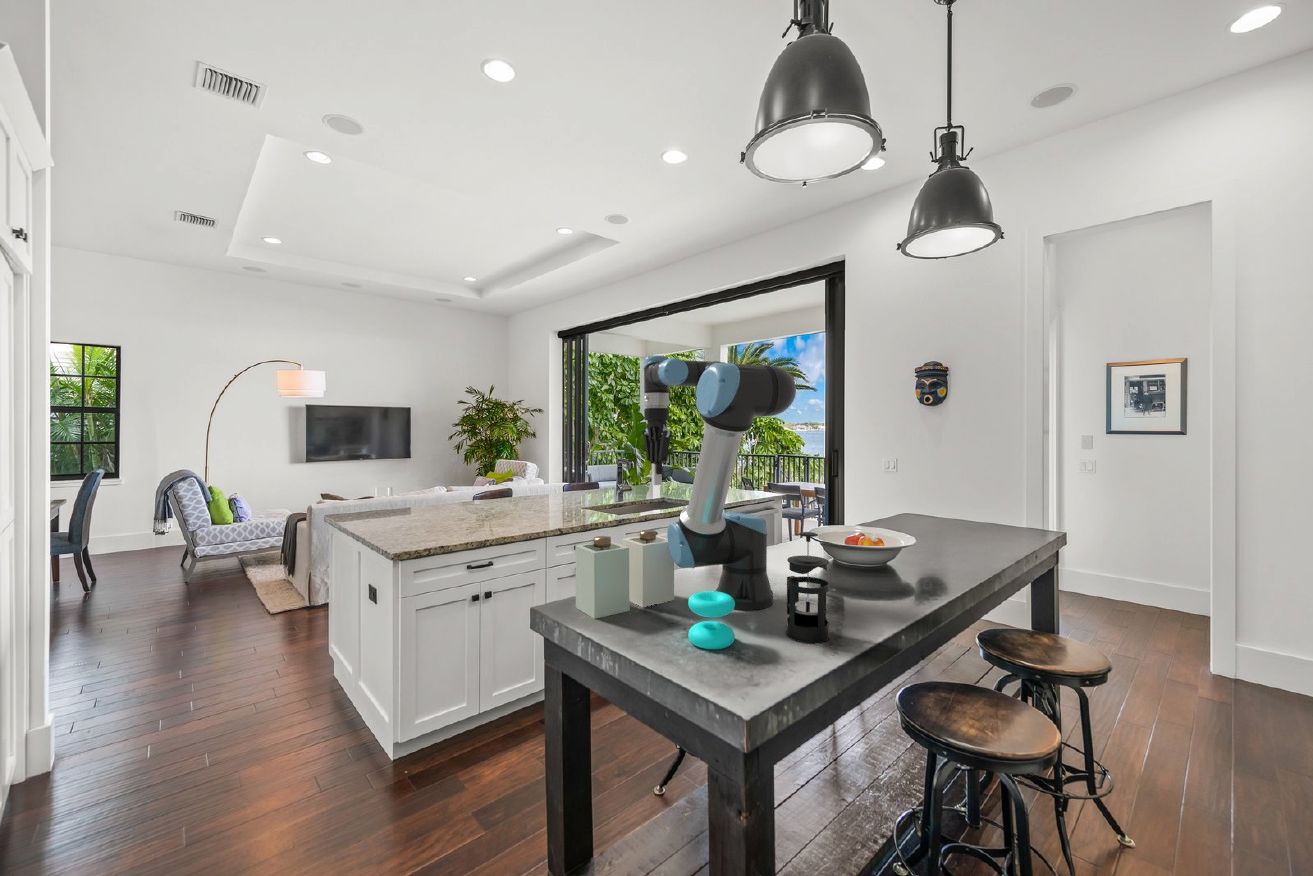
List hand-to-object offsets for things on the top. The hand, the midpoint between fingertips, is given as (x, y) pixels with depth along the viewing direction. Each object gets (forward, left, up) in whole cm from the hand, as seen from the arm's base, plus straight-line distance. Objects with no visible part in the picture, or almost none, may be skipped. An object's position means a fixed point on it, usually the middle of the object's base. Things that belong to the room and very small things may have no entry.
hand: (656, 484), depth 169 cm
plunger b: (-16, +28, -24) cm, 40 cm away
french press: (-57, -1, -29) cm, 64 cm away
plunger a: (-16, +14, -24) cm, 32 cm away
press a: (-16, +14, -28) cm, 35 cm away
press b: (-16, +28, -28) cm, 43 cm away
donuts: (-48, +19, -29) cm, 59 cm away
